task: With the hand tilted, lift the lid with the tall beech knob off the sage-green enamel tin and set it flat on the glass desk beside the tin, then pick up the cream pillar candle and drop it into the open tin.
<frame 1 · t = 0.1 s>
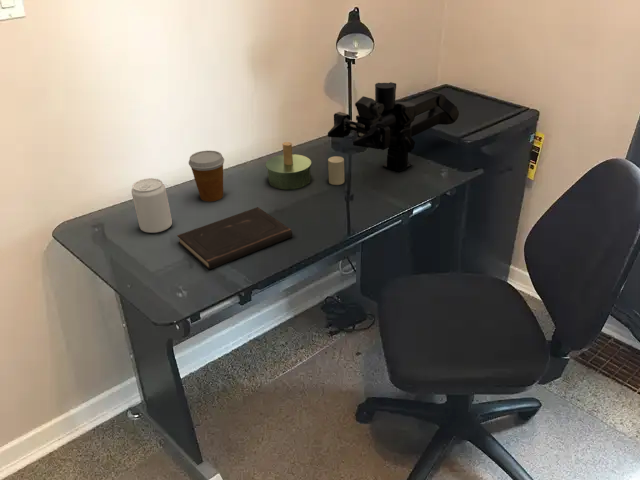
hand: (340, 139, 163), 17 cm above the table, tool horizontal, fingers open, 9 cm apart
tin: (289, 180, 180), on the table
beverage can: (156, 227, 157), on the table
disposable coffee cup: (212, 197, 171), on the table
candle: (336, 181, 179), on the table
hardcover book: (236, 241, 151), on the table
lid: (288, 164, 177), point 5 cm above the table, touching tin
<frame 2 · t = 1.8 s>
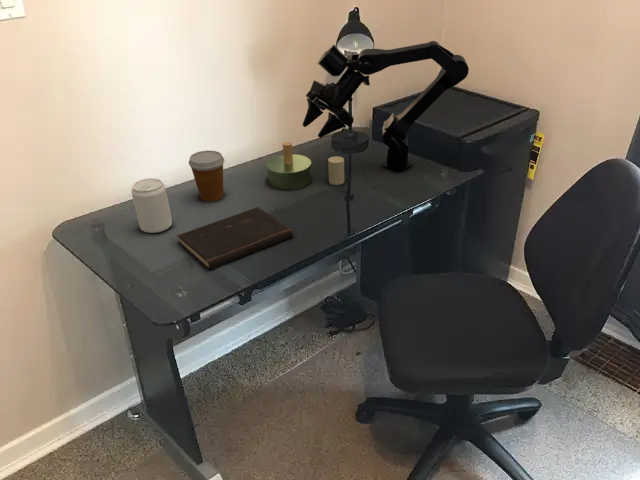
hand: (311, 131, 175), 14 cm above the table, tool tilted 45°, fingers open, 9 cm apart
nothing on the table moved.
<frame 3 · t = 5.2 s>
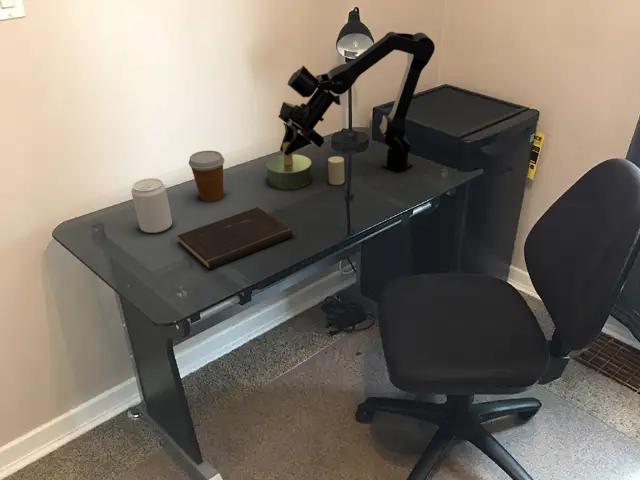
hand: (283, 152, 174), 9 cm above the table, tool tilted 45°, fingers closed on lid, 2 cm apart
lid: (288, 164, 177), point 5 cm above the table, touching gripper, tin
everything else where it was.
when the fingers open (5 cm above the table, at t = 11.2 s): lid stays where it is, point 1 cm above the table.
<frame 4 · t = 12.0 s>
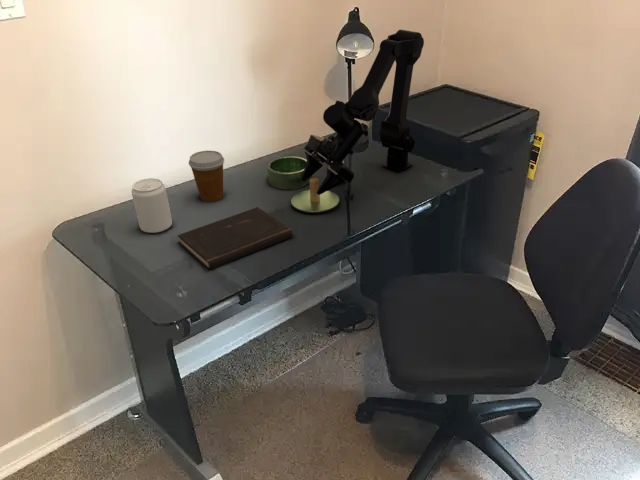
hand: (309, 187, 164), 5 cm above the table, tool tilted 45°, fingers open, 9 cm apart
lid: (315, 201, 167), point 1 cm above the table
everything else where it was.
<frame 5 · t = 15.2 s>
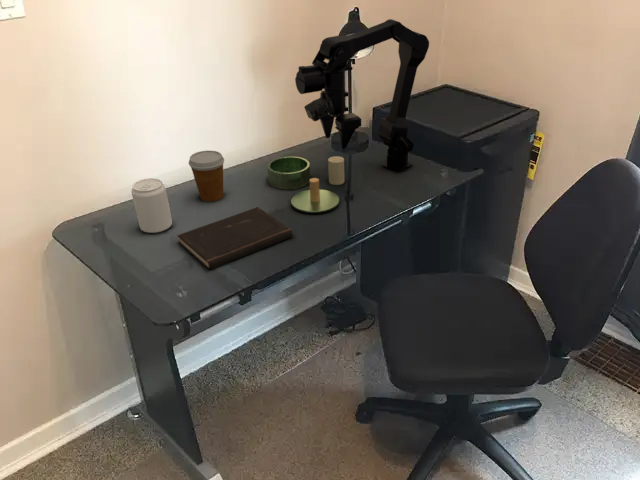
hand: (335, 143, 172), 12 cm above the table, tool pointing down, fingers open, 9 cm apart
nothing on the table moved.
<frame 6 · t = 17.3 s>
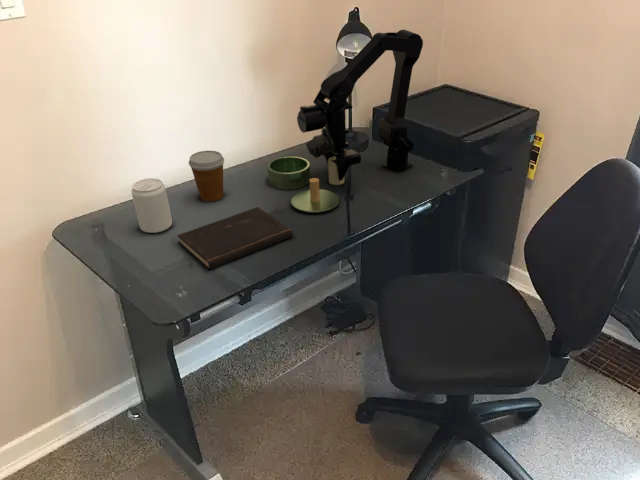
hand: (336, 176, 178), 2 cm above the table, tool pointing down, fingers closed on candle, 4 cm apart
candle: (336, 181, 179), on the table, touching gripper
everything else where it was.
when the fingers open (6 cm above the table, at t = 22.0 s): candle drops 4 cm, resting on tin.
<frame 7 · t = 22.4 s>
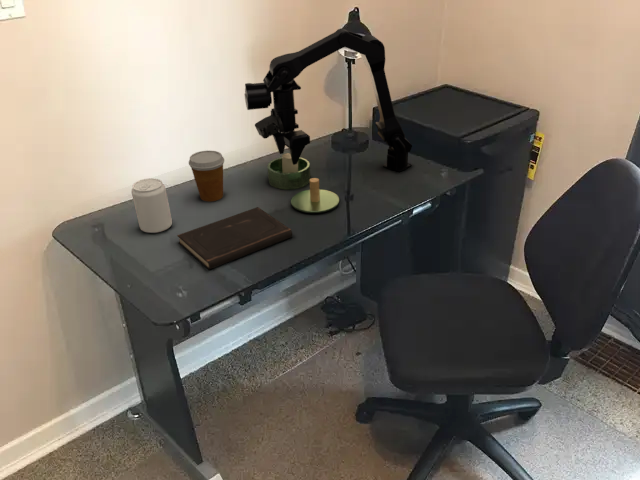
hand: (288, 158, 176), 7 cm above the table, tool pointing down, fingers open, 9 cm apart
candle: (290, 178, 179), point 1 cm above the table, touching tin
everything else where it was.
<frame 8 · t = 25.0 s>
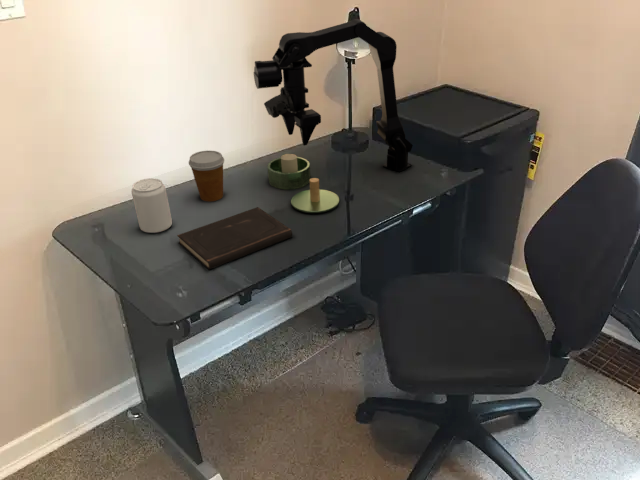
hand: (297, 139, 172), 13 cm above the table, tool pointing down, fingers open, 9 cm apart
nothing on the table moved.
at the end: lid inside the target area (0.0 cm from its centre), point 0.6 cm above the table; lid tilted 0°; candle inside the target area in the tin (0.3 cm from its centre), point 0.5 cm above the tin's base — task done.
